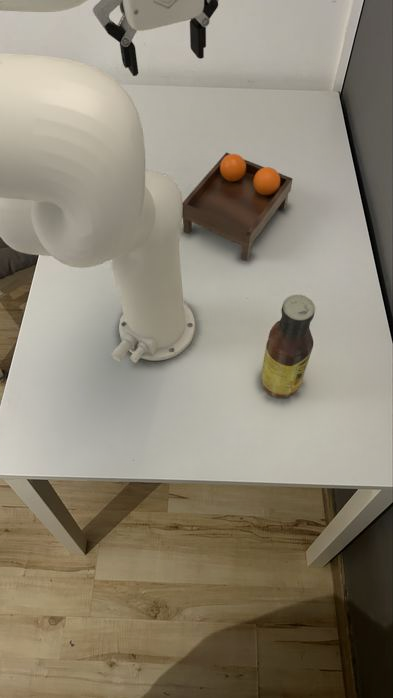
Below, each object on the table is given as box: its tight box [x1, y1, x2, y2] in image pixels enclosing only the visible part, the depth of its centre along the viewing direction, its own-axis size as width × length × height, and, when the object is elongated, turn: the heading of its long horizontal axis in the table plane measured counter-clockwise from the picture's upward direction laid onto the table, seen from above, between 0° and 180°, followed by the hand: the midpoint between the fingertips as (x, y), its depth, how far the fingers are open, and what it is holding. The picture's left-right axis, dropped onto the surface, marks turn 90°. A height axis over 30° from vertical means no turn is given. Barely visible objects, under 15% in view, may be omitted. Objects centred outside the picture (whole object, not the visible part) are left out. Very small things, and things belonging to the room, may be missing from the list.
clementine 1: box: [220, 153, 246, 182], centre depth 92 cm, size 5×5×5 cm
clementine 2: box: [253, 166, 280, 195], centre depth 90 cm, size 5×5×5 cm
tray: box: [182, 152, 294, 262], centre depth 92 cm, size 16×14×7 cm
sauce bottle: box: [260, 294, 316, 399], centre depth 70 cm, size 6×6×20 cm
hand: (165, 62), depth 69 cm, fingers open, 9 cm apart
